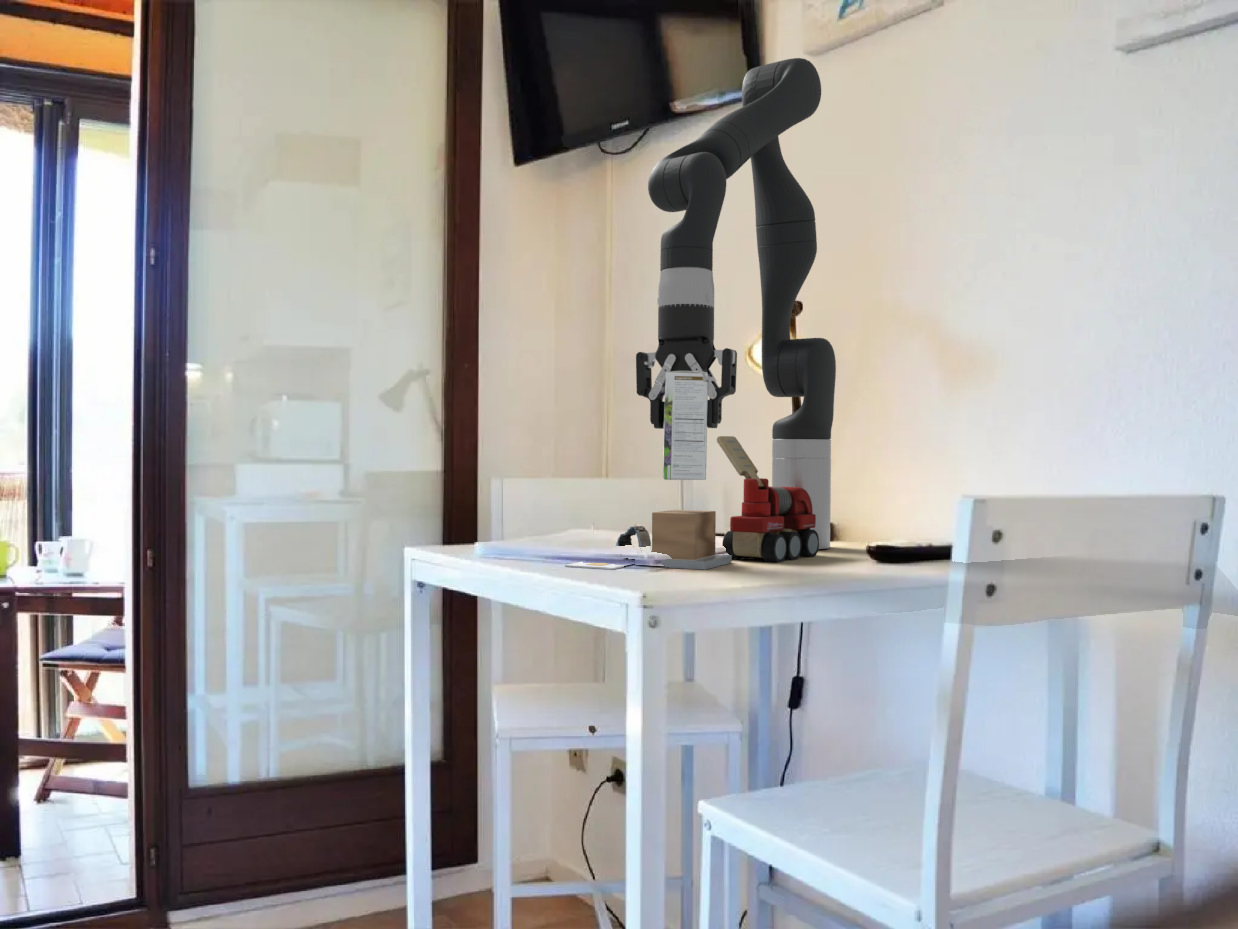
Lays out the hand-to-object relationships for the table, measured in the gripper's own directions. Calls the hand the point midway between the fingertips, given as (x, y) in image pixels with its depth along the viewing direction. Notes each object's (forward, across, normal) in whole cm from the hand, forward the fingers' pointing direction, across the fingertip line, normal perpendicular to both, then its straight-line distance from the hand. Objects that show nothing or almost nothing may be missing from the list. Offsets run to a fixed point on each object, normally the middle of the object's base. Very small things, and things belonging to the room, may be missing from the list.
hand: (685, 428), depth 141 cm
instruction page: (+18, +9, +6) cm, 21 cm away
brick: (+17, 0, 0) cm, 17 cm away
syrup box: (+7, 0, 0) cm, 7 cm away
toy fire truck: (+19, -6, -15) cm, 25 cm away
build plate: (+18, 0, 0) cm, 18 cm away
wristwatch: (+19, +9, -3) cm, 21 cm away
